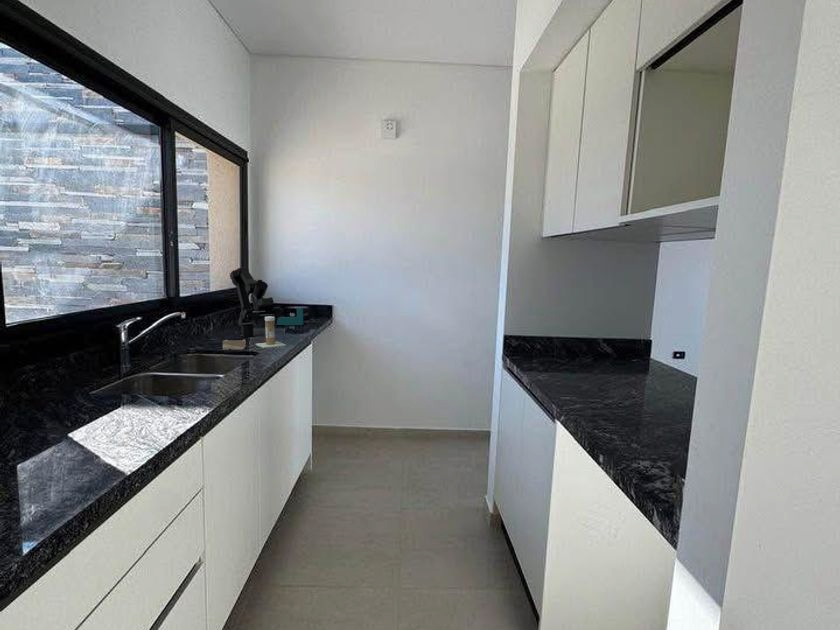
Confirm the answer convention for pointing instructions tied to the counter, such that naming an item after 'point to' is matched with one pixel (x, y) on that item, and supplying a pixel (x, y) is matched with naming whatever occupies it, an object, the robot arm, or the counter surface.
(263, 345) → the rubber mat
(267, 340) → the sprinkles bottle
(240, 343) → the bottle stand
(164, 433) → the counter surface
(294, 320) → the teal l-shaped bracket
